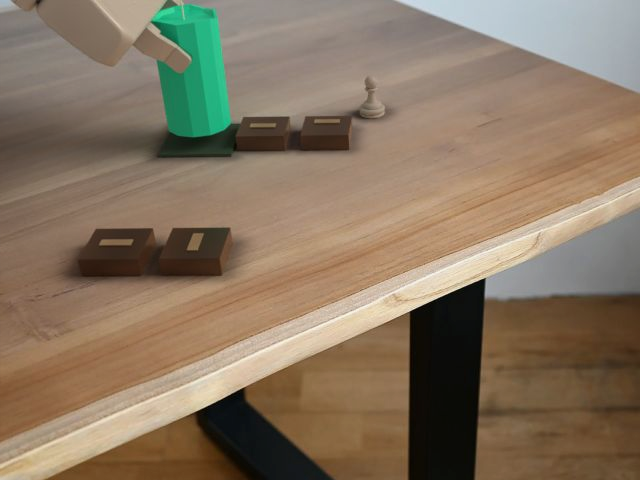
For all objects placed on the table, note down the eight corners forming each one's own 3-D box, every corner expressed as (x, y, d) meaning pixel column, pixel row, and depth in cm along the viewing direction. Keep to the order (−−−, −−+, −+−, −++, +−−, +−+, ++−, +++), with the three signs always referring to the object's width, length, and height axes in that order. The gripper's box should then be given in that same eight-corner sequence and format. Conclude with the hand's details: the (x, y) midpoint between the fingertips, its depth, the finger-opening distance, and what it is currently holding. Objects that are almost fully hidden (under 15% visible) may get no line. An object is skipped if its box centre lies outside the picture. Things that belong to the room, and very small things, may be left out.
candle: (203, 142, 82) (183, 10, 76) (153, 129, 85) (130, 1, 78) (244, 118, 87) (229, -8, 80) (196, 106, 89) (177, -17, 83)
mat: (158, 157, 84) (157, 154, 84) (174, 126, 90) (174, 124, 90) (231, 156, 84) (230, 153, 84) (243, 126, 90) (243, 123, 89)
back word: (237, 151, 85) (235, 135, 84) (244, 130, 89) (243, 115, 88) (349, 150, 84) (348, 134, 84) (352, 129, 88) (351, 114, 87)
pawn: (382, 107, 93) (381, 69, 90) (387, 117, 90) (386, 79, 88) (357, 110, 92) (355, 72, 90) (361, 120, 90) (359, 82, 88)
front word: (81, 276, 67) (76, 258, 67) (99, 244, 71) (95, 227, 70) (222, 275, 67) (219, 257, 66) (232, 243, 71) (230, 226, 70)
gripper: (82, -60, 87) (198, 39, 92) (-2, 5, 70) (146, 122, 75) (119, -110, 84) (236, -6, 89) (42, -55, 67) (192, 70, 72)
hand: (195, 53), depth 82 cm, fingers closed on candle, 5 cm apart
